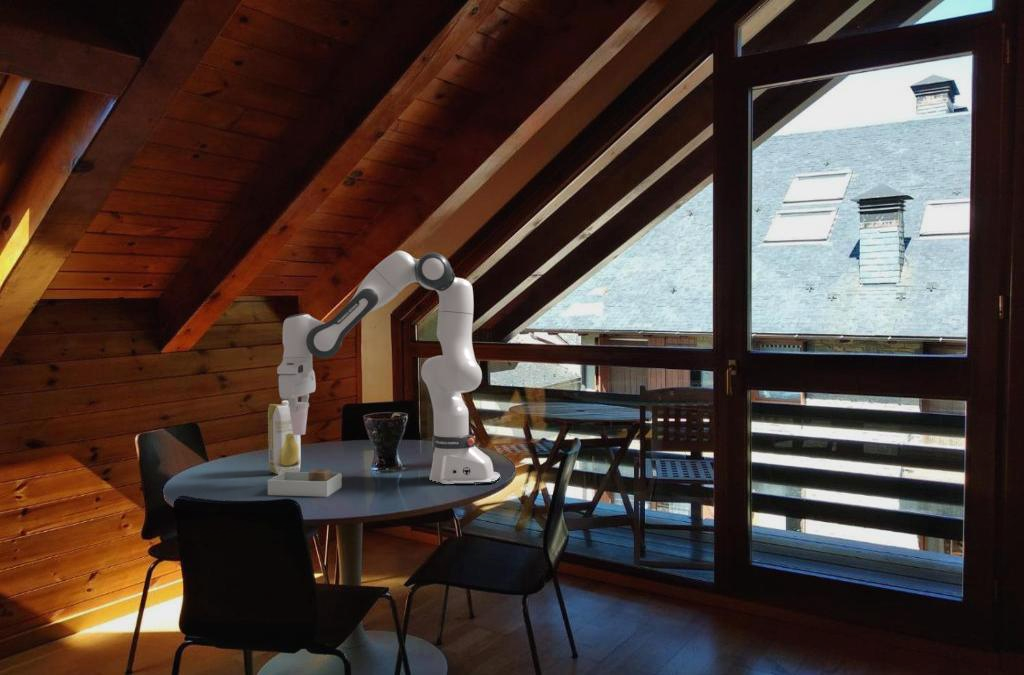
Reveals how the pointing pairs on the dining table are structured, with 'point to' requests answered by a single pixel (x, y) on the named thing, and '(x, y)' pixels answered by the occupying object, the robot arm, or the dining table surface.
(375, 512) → the dining table surface
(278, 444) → the juice carton
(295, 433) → the smoothie
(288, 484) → the crate
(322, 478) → the walnut block
